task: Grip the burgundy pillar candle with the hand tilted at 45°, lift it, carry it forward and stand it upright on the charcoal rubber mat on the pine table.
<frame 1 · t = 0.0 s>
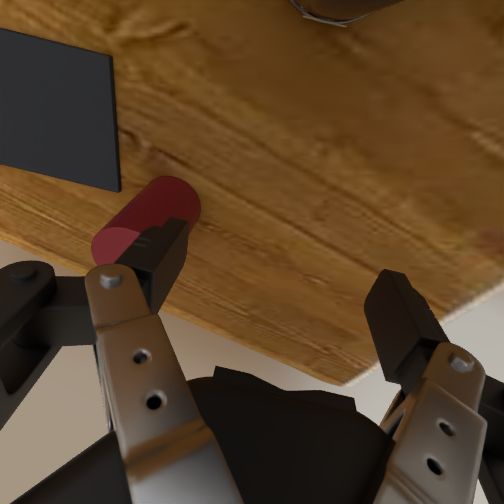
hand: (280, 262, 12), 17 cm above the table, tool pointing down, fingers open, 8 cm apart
mat: (26, 109, 27), on the table
candle: (172, 203, 31), on the table
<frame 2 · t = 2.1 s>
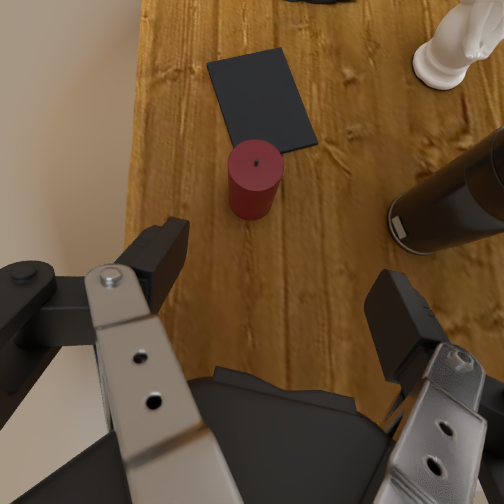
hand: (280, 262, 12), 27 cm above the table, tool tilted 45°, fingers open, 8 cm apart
cherub figurine: (427, 60, 48), on the table
mat: (260, 104, 44), on the table
candle: (250, 199, 41), on the table
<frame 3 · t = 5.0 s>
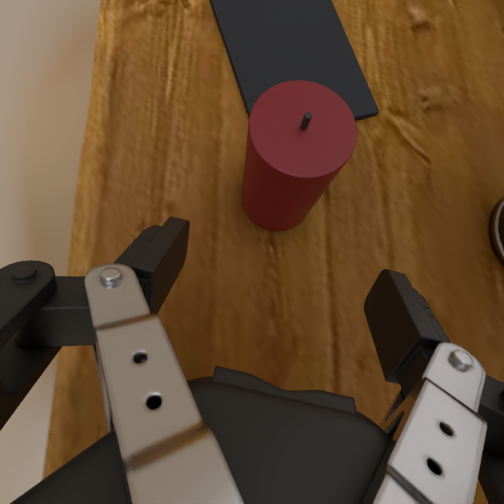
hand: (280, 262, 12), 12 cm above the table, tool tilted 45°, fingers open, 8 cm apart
mat: (290, 54, 29), on the table
candle: (276, 198, 26), on the table
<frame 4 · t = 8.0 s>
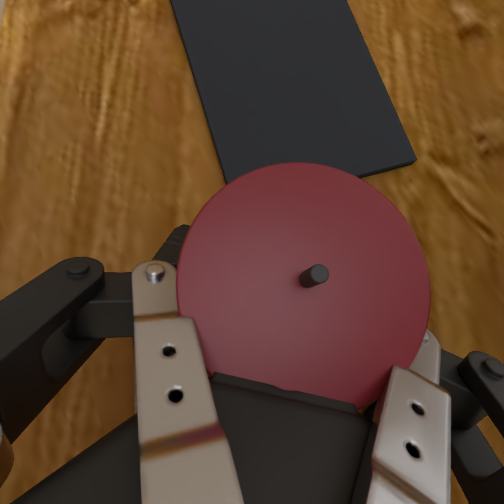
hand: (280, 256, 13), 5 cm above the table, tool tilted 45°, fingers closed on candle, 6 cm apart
mat: (284, 73, 20), on the table
candle: (261, 300, 17), on the table, touching gripper
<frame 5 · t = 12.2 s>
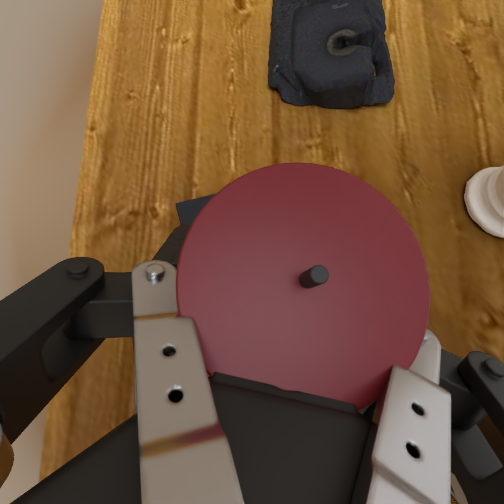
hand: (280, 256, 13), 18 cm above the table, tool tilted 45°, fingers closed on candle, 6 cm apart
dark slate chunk: (328, 36, 38), on the table
cherub figurine: (483, 192, 35), on the table
mat: (252, 265, 31), on the table
candle: (261, 300, 17), point 14 cm above the table, touching gripper
when the fingers open (5 cm above the table, at t = 16.8 s): candle stays where it is, resting on mat.
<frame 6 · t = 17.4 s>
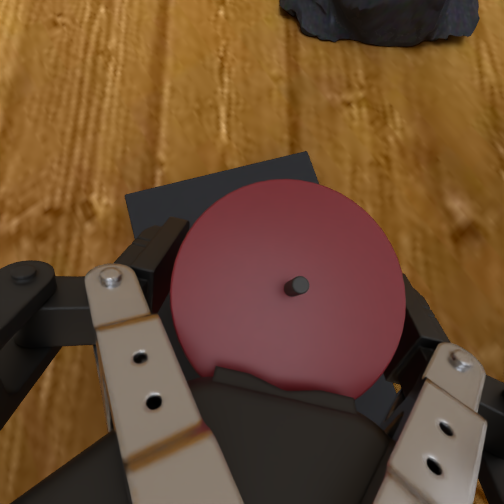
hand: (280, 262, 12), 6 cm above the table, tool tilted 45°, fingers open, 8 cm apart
mat: (257, 301, 18), on the table
candle: (255, 303, 17), point 1 cm above the table, touching mat
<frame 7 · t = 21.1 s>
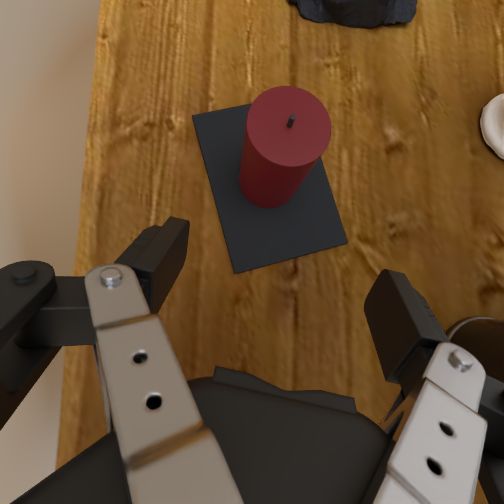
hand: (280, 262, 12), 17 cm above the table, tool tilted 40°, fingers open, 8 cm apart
cherub figurine: (499, 118, 35), on the table
mat: (268, 180, 31), on the table
candle: (268, 180, 30), point 1 cm above the table, touching mat
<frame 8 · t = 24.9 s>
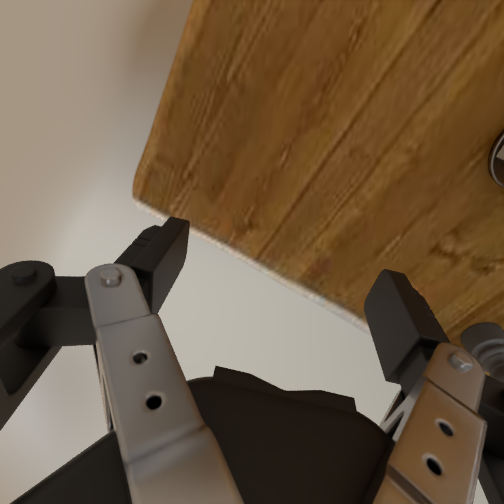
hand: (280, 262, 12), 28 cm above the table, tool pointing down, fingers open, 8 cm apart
candle holder: (480, 335, 49), on the table
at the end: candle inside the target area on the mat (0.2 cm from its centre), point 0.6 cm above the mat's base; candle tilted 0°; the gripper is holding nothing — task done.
